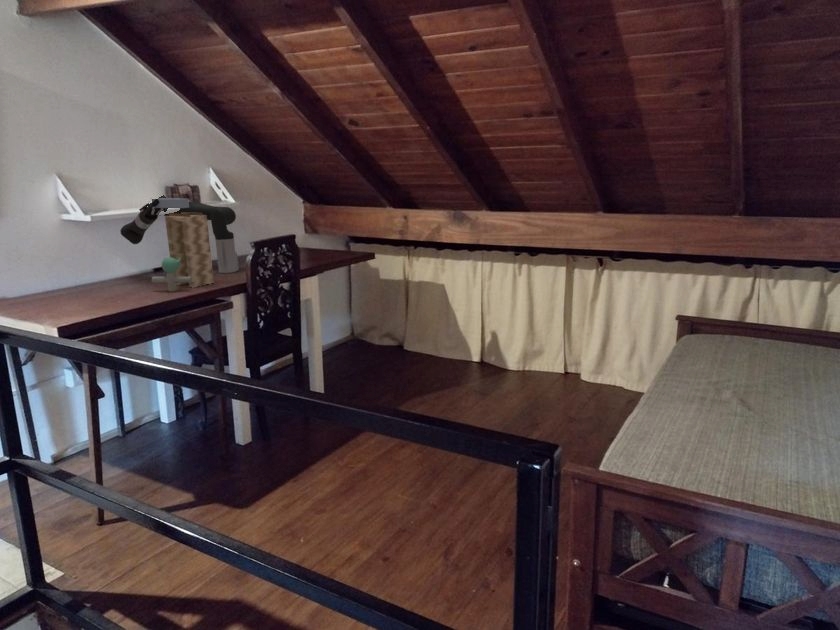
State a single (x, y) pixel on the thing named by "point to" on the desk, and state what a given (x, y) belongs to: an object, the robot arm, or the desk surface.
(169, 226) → the zigzag patterned block
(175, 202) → the bar
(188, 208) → the robot arm
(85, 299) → the desk surface
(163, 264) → the toy
